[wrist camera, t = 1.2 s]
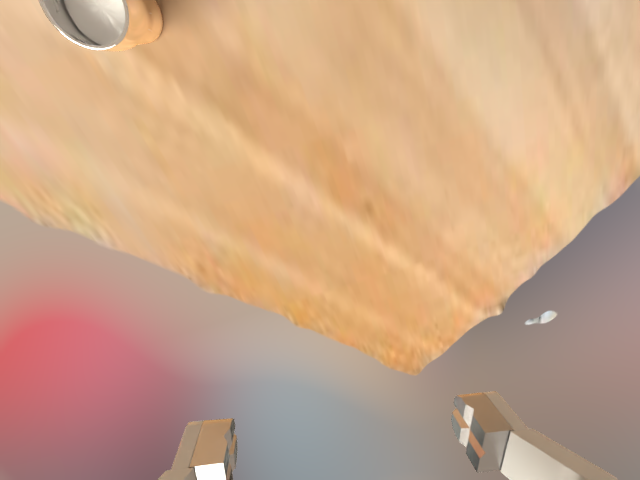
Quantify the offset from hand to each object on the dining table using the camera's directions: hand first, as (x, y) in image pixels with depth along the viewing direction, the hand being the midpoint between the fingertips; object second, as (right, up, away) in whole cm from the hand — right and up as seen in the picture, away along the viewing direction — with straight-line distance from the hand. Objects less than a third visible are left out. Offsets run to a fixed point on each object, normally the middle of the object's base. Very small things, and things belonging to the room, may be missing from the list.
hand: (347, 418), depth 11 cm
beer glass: (-24, +34, +26) cm, 49 cm away
